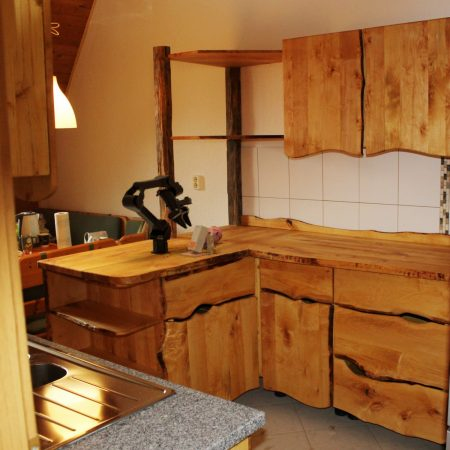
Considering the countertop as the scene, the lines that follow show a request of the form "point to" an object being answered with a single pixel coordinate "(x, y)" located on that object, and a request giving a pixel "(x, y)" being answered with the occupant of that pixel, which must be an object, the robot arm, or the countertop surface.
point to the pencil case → (216, 235)
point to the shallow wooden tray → (210, 242)
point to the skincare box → (198, 238)
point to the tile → (194, 254)
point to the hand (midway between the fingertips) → (188, 227)
